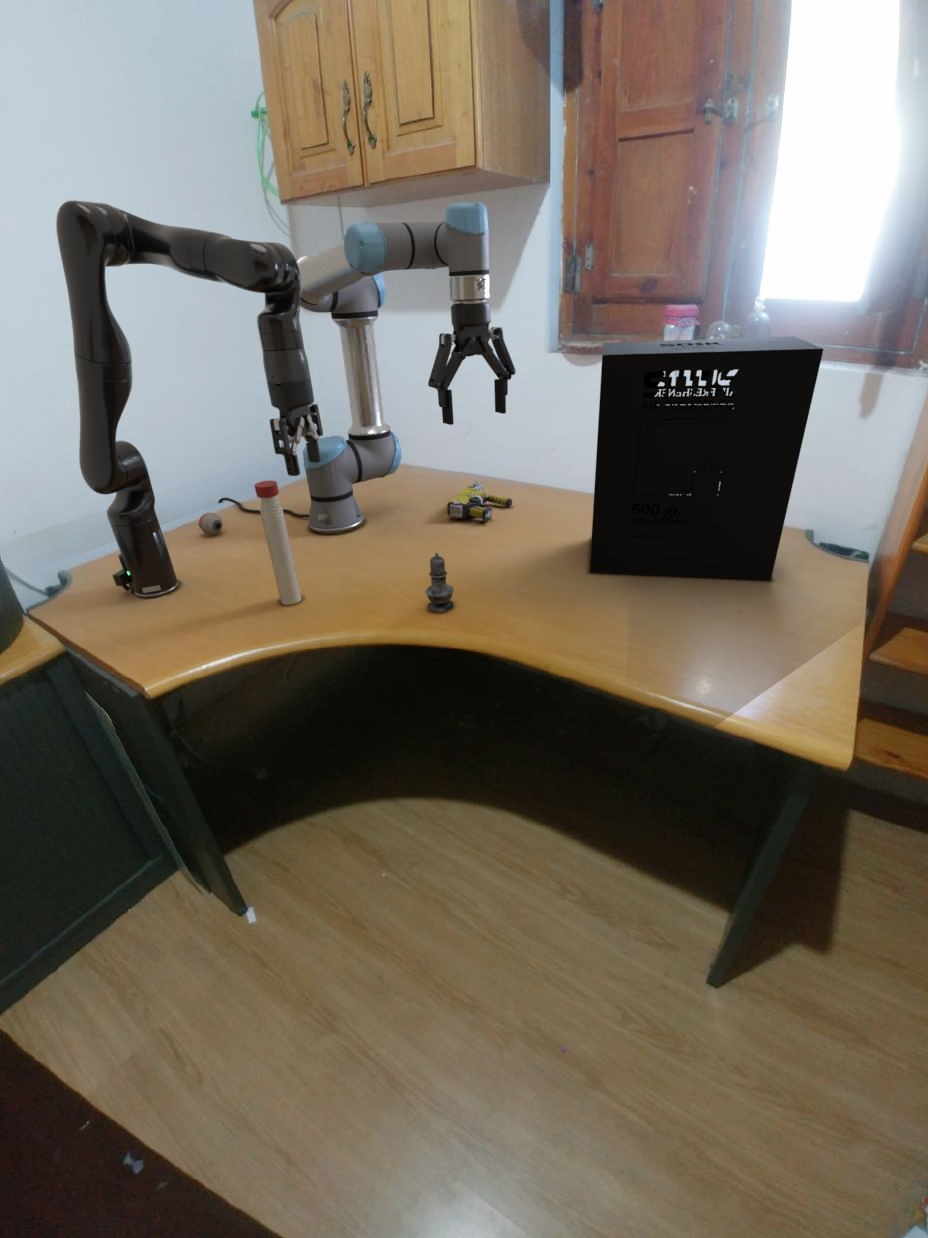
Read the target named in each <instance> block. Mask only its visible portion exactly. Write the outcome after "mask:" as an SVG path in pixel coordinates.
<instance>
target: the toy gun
mask: <svg viewBox="0 0 928 1238" xmlns="http://www.w3.org/2000/svg"><path fill="white" fill-rule="evenodd" d="M487 502H488V503H493V504H496V505H500V506H504V507H506V508H510V507H511V506H512V505H513V499H512V498H509V497H504V496H500V495H499V496H498V495H494V494H492V493H490V494H489V495H488V496H487V495H486V492H485V483H484V482H483V481H480V482H479V481H477V480H474V482H473V483H471V484H470V485H468V486H467V487H465V488H464V489H462V491H460V492H459V493H458V494H456V496H454V497H453V498H452V499H451V500H449V501H448V502H447V505H446V514H447V516H448V517H451V518H452V519H455V520H458V519H459V518H460V519H467V518H471V517H475V518H479V519H482V522H484V523H485V522H487V521H488V520H491V518H492V512H493V507H492V506H485V505H484V504H486V503H487Z"/></svg>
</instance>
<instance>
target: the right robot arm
mask: <svg viewBox="0 0 928 1238" xmlns="http://www.w3.org/2000/svg"><path fill="white" fill-rule="evenodd" d="M488 217H489V216H488V208H487V207H486V205H485V204H484V203H482V202H473V201H472V202H458V203H452V204H449V205H447V206H446V208H445V219H444V220H441V221H427V222H426V221H425V222H424V221H423V222H422V221H417V222H372V221H363V222H359V223H352V224H350V225H349V226H347V228H346V232H345V234H344V236H343V240H341V241H339V242H337V243H336V244H333V245H332V246H331V247H329V248H326V249H325V250H323V251H321V252H320V253H318V254H316V255H309V254H308V255H303V256H301V257H299V258H298V259H296V261H297V264H298V267H299V272H300V280H301V294H300V308H303V309H305V310H307V311H309V312H312V313H320V314H321V313H324V314H325V313H330V316H331V321H332V322H333V323H334V324H336V326H337V327H338V329H339V337H340V343H341V344H340V345H341V351H342V358H343V359H342V360H343V365H344V373H345V374H344V375H345V380H346V387H347V396H348V403H349V410H350V416H351V417H350V418H351V425H350V426H349V428H348V430H347V436H348V439H345V437H343V436H341V435H332V436H324V437H321V438H320V437H319V442H318V446H319V452H320V458H321V461H320V462H318V463H313V462H310V461H309V458H308V453H307V447H306V446H304V448H303V450H302V457H303V459H302V460H303V467H304V471H305V476H306V481H307V486H308V492H309V498H310V507H309V513H308V514H306V513H304V514H303V513H296V512H294V511H293V510H290V509H286V508H284V509H283V508H282V509H283V512H284V513H287V514H290V515H291V516H293V517H296V518H308V521H307V522H308V523H307V524H308V528H309V529H308V530H310V531H311V532H312V533H314V534H317V535H323V536H324V535H325V536H327V535H329V536H331V535H339V534H340V535H341V534H345V533H350V532H353V531H355V530H357V529H359V528H361V527H362V526H363V525H364V523H365V519H364V514H363V512H362V510H361V508H360V505H359V504H358V501H357V500H356V498H355V495H354V489H353V485H354V484H355V485H356V484H359V483H363V482H368V481H371V480H375V479H381V478H385V477H387V476H390V475H392V474H394V473H396V472H397V470H398V469H399V467H400V465H401V462H402V446H401V443H400V440H399V437H398V436H397V435H396V434H395V432H394V431H391V426H390V425H388V423H386V422H385V418H384V409H383V408H384V407H383V402H382V391H381V383H380V382H381V381H380V373H379V364H378V356H377V345H376V337H375V327H374V324H375V322H376V321H377V320H378V318H379V310H378V309H380V308H382V307H383V306H384V303H385V299H386V285H385V280H384V277H383V276H384V275H383V274H382V273H383V272H390V271H401V270H402V271H406V270H423V269H424V270H436V269H441V268H442V269H443V268H448V283H449V284H448V285H449V300H450V302H452V303H453V304H451V306H450V318H451V319H450V321H451V325H452V328H453V332H452V333H445V332H441V333H439V335H438V348H437V352H436V355H435V358H434V362H433V365H432V369H431V372H430V375H429V379H428V382H427V386H428V388H432V389H435V390H436V391H437V399H438V400H437V401H438V402H437V403H438V406H439V408H441V417H442V424H446V425H449V426H452V425H454V422H455V421H454V407H453V391H452V389H450V388H449V387H450V386H451V383H452V381H453V379H454V378H455V376H456V374H457V373H458V371H459V368H460V366H461V364H462V363H463V361H464V360H466V358H467V357H468V358H469V357H473V356H474V357H475V356H481V357H482V358H483V359H484V360H485V362H486V364H488V366H489V367H490V369H491V370H492V371H493V373H494V374H495V376H496V377H497V378H495V379H494V382H493V383H494V385H493V386H494V412H495V413H498V414H504V415H505V414H506V413H507V397H506V396H508V393H509V386H508V385H509V381H510V380H511V379H512V376H515V375H516V373H517V371H516V368H515V365H514V363H513V360H512V357H511V354H510V352H509V350H508V347H507V344H506V341H505V340H504V339H505V338H504V331H503V327H500V326H499V327H498V326H492V327H490V323H491V321H492V320H491V319H492V317H491V304H490V302H488V300H489V299H490V298H491V290H490V288H491V287H490V286H491V285H490V281H491V280H490V241H489V240H490V238H489V237H490V236H489V235H490V229H489V219H488ZM490 340H491V343H492V345H491V344H490V343H489V342H490ZM453 345H454V347H453V349H452V346H453ZM492 346H493V347H492ZM223 501H228V502H231V503H233V504H235V505H237V506H238V508H239V509H240V510H241V511H243V512H247V513H252V514H261V512H260V511H261V509H250V508H246V507H243V505H242V503H241V502H240V501H237V500H235V499H232V498H230V497H221V498H219V500H218V504H221V503H222V502H223Z"/></svg>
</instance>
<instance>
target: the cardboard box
mask: <svg viewBox="0 0 928 1238" xmlns="http://www.w3.org/2000/svg"><path fill="white" fill-rule="evenodd" d="M601 353H602V355H601V371H600V388H599V389H600V390H599V405H598V423H597V439H596V454H595V455H596V456H595V472H594V473H595V474H594V487H593V488H594V491H593V505H592V506H593V509H592V526H591V540H590V541H591V543H590V559H589V574H614V575H637V576H638V575H641V576H660V577H663V576H664V577H686V578H708V579H709V578H710V579H730V580H731V579H733V580H735V579H736V580H754V581H755V580H756V581H757V580H758V581H772V577H773V573H774V569H775V565H776V560H777V557H778V556H777V555H778V551H779V548H780V543H781V537H782V534H783V529H784V526H785V520H786V515H787V511H788V507H789V502H790V499H791V495H792V489H793V486H794V481H795V476H796V472H797V467H798V464H799V459H800V454H801V451H802V445H803V441H804V436H805V433H806V428H807V424H808V419H809V415H810V412H811V411H810V410H811V406H812V403H813V397H814V392H815V388H816V384H817V380H818V376H819V371H820V366H821V361H822V359H823V358H822V357H823V353H824V347H821V346H818V345H816V344H813V343H811V342H808V341H805V340H804V339H801V338H798V337H796V336H771V337H769V336H768V337H766V336H765V337H737V338H708V339H707V338H706V339H679V340H678V339H675V340H673V339H672V340H649V341H648V340H645V341H617V342H616V341H615V342H614V341H613V342H603V343H602V352H601ZM736 370H737V371H736ZM677 371H678V375H677V376H676V377H675V382H674V383H675V385H672V383H673V376H671V374H672V373H674V372H677ZM685 371H689V372H690V374H689V382H691V385H687V379H688V377H687V375H685ZM699 371H701V373H700V375H698V372H699ZM715 371H716V375H715ZM733 371H736V373H734V375H729V373H730V372H733ZM714 375H715V376H716V377H715V380H714ZM719 377H720V378H719ZM700 381H701V382H705V385H700ZM713 381H715V382H714V383H713ZM719 381H729V382H728V384H725V385H724V384H720V383H719ZM660 383H663V384H664V385H660Z"/></svg>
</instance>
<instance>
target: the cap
mask: <svg viewBox="0 0 928 1238" xmlns="http://www.w3.org/2000/svg"><path fill="white" fill-rule="evenodd" d="M253 486H254V490H255V494H256V497H257V498H259V499H261V498H269V497H273V496H278V495H279V494H280V492H279V486H278V482H277V481H276V480H263V481H259V482H256V483H255V484H254V485H253Z"/></svg>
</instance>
